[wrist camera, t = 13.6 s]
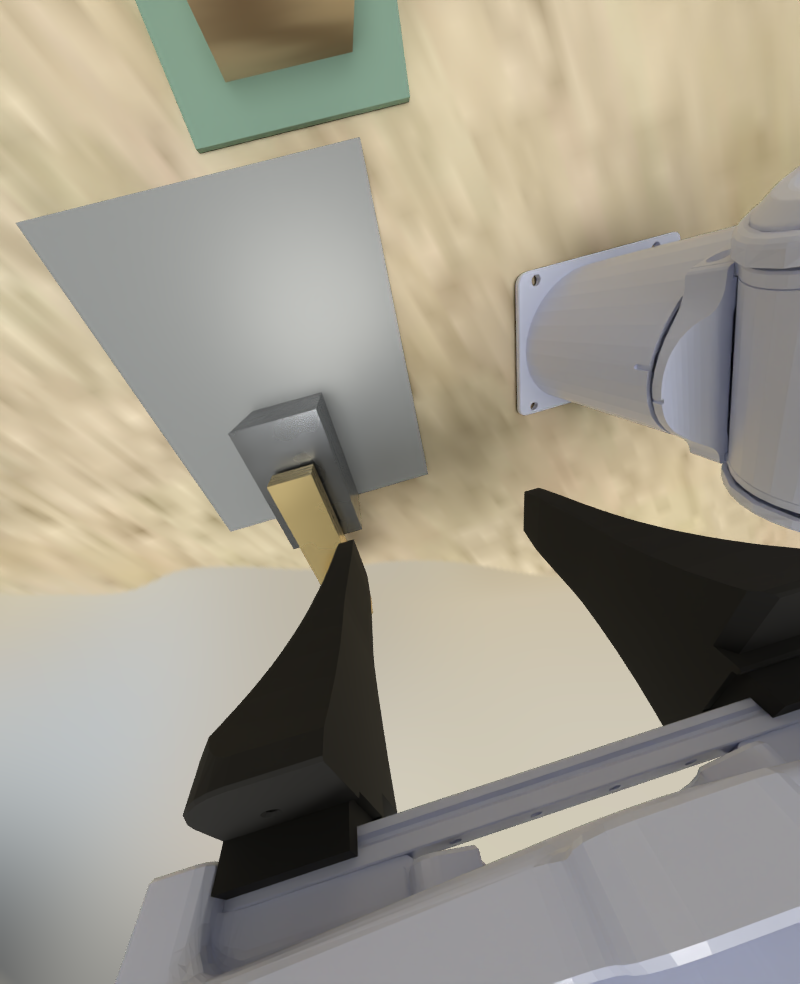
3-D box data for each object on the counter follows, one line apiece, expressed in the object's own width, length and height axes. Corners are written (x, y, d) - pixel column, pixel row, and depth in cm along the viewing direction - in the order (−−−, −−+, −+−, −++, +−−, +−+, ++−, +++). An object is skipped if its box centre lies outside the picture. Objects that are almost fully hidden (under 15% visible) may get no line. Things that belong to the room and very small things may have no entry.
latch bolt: (313, 463, 14) (303, 511, 10) (371, 597, 19) (378, 661, 15) (272, 475, 14) (247, 528, 10) (341, 606, 19) (341, 672, 15)
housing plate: (358, 149, 13) (367, 58, 8) (424, 467, 21) (445, 504, 17) (38, 230, 12) (-127, 177, 8) (235, 522, 20) (207, 574, 16)
